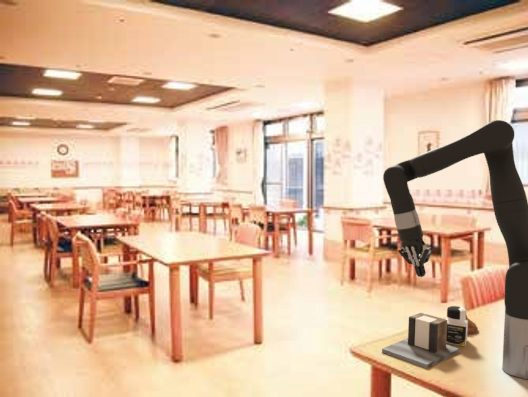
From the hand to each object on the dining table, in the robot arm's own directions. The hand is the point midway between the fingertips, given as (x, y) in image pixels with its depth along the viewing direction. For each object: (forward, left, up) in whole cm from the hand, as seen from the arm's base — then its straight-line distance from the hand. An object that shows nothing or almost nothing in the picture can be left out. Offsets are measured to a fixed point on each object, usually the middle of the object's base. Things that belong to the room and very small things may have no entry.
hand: (421, 276), depth 154 cm
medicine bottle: (+3, -18, -25) cm, 31 cm away
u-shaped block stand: (-1, 0, -25) cm, 25 cm away
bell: (+12, -29, -25) cm, 41 cm away
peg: (0, -2, -23) cm, 24 cm away
